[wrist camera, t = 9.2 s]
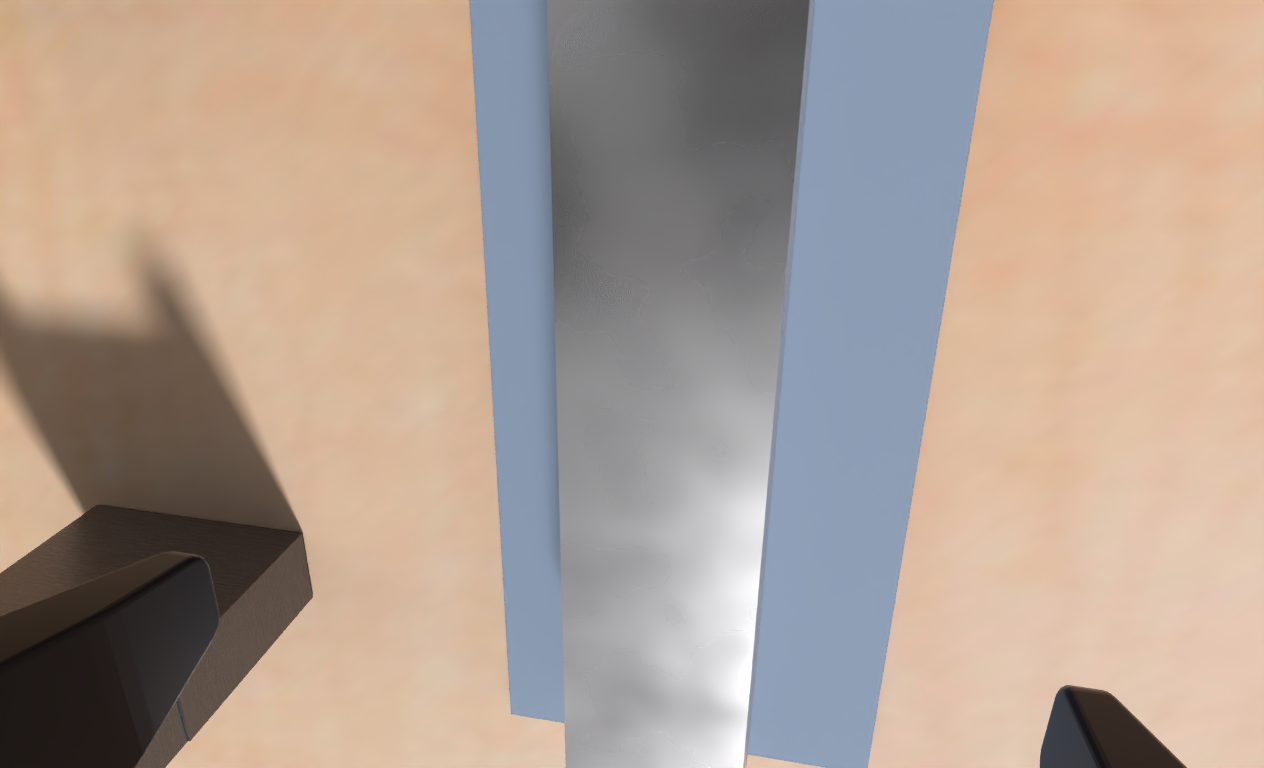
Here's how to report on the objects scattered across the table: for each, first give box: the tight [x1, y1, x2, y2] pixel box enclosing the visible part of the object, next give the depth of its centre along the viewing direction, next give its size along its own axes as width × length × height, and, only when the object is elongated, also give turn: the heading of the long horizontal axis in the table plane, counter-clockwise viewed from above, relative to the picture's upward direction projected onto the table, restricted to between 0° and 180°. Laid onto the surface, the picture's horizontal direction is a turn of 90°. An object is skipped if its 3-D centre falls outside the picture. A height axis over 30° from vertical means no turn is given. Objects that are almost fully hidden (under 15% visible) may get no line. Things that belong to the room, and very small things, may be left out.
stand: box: [0, 505, 313, 768], centre depth 21 cm, size 6×2×7 cm, turn 90°
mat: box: [469, 0, 994, 768], centre depth 18 cm, size 9×22×1 cm, turn 0°
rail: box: [547, 0, 816, 768], centre depth 16 cm, size 4×20×4 cm, turn 0°
